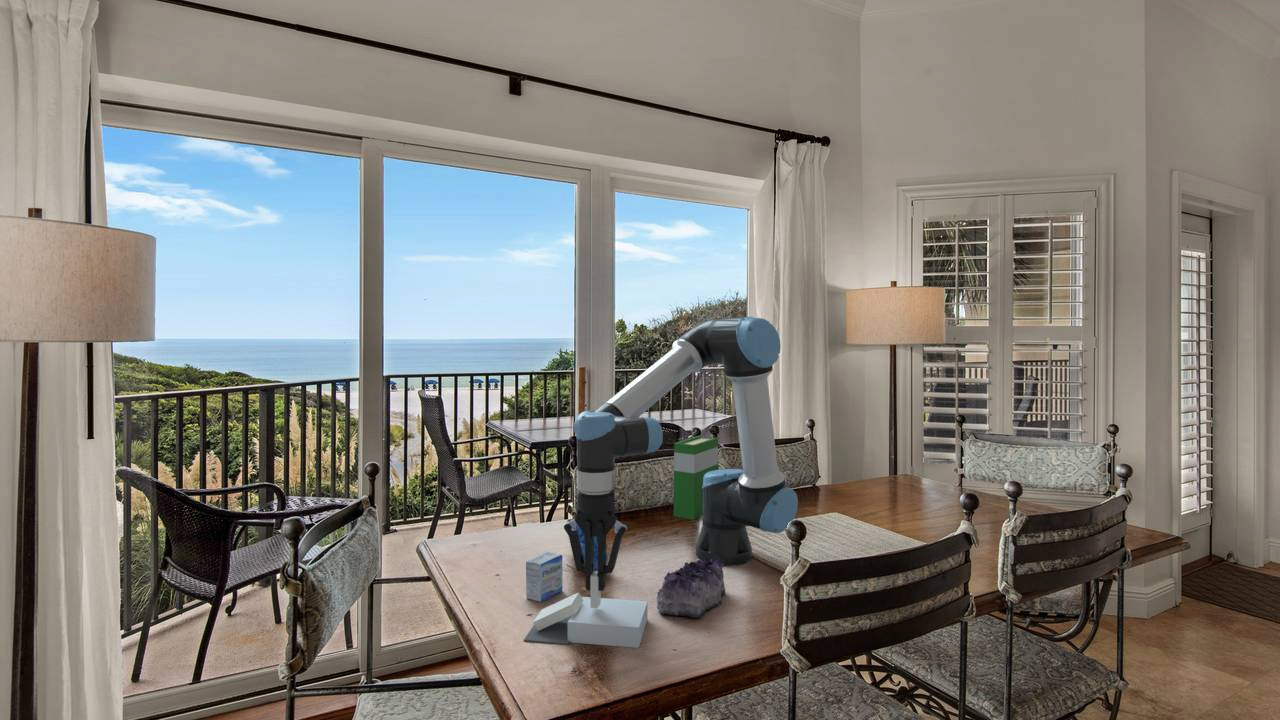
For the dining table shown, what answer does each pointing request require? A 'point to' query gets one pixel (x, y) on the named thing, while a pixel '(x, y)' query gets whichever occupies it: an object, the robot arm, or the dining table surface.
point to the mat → (550, 633)
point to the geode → (692, 589)
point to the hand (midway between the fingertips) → (595, 605)
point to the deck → (609, 623)
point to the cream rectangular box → (558, 611)
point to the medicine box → (544, 576)
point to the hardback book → (692, 474)
